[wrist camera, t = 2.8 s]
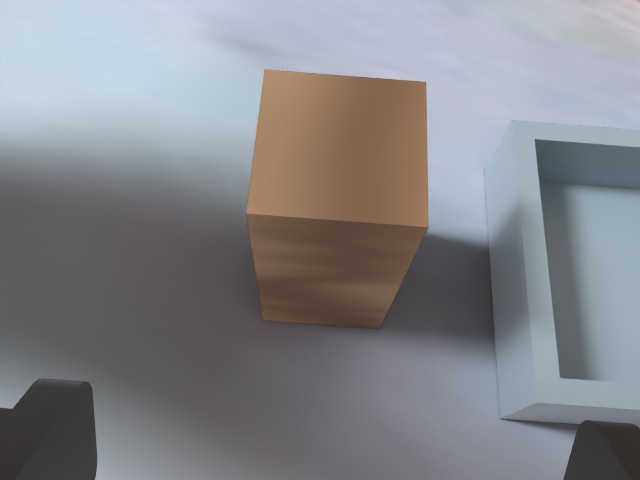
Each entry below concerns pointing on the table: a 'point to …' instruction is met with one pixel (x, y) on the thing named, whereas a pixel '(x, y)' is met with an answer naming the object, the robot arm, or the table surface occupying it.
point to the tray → (566, 272)
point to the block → (336, 195)
